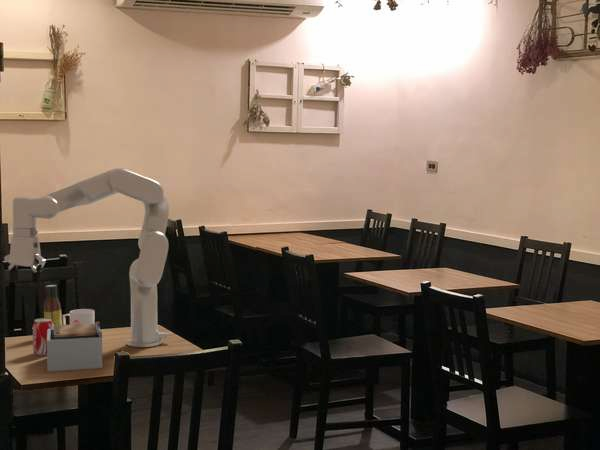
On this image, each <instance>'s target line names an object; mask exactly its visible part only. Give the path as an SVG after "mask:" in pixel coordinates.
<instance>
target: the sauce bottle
mask: <svg viewBox="0 0 600 450" xmlns="http://www.w3.org/2000/svg"><path fill="white" fill-rule="evenodd" d="M57 289H58V287H57V284H48V285H45V291H46V292H45V293H46V294H45V295H46V298H45V299H44V302H43V317H44V318H50V319H52V322H53V324H54V325H63V316H62V308H61V302H60V299H59V297H58V295H57V294H58V293H57Z"/></svg>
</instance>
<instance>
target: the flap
mask: <svg viewBox="0 0 600 450" xmlns="http://www.w3.org/2000/svg"><path fill="white" fill-rule="evenodd" d="M89 335H96V330H95V325H94V323H92V324H72V325H70V324H66V325H63V324H62V325H54V337H71V336H89Z"/></svg>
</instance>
